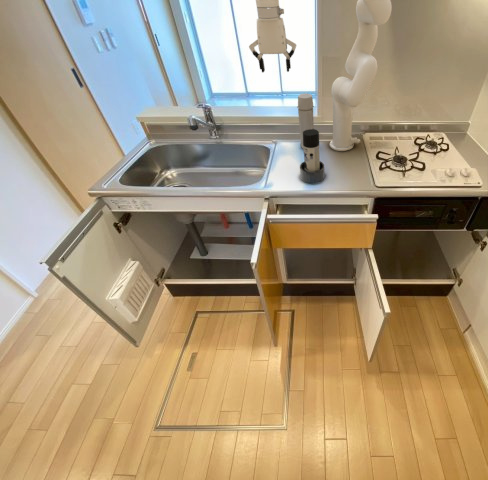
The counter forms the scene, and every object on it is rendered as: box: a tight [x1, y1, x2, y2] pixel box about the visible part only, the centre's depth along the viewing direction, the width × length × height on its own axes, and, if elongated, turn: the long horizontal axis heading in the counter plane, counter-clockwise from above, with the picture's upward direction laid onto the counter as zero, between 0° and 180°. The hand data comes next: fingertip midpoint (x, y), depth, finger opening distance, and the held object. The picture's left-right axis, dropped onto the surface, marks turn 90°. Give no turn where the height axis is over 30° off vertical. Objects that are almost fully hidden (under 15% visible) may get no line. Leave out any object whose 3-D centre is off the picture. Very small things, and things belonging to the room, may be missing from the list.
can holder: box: [299, 160, 326, 185], centre depth 118 cm, size 11×11×6 cm
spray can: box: [302, 128, 321, 172], centre depth 113 cm, size 7×7×20 cm
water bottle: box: [296, 93, 315, 150], centre depth 131 cm, size 9×8×25 cm
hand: (275, 71), depth 103 cm, fingers open, 9 cm apart
